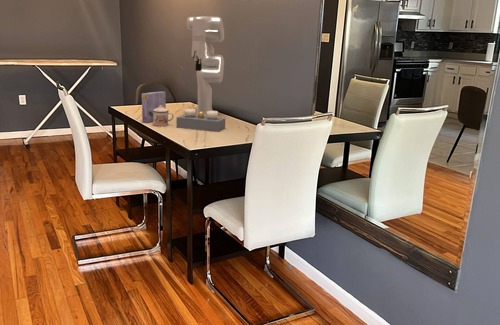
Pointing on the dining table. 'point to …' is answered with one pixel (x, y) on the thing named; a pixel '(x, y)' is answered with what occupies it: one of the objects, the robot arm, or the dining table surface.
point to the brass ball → (200, 114)
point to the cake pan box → (152, 104)
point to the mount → (200, 123)
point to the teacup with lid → (161, 116)
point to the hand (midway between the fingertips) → (198, 70)
